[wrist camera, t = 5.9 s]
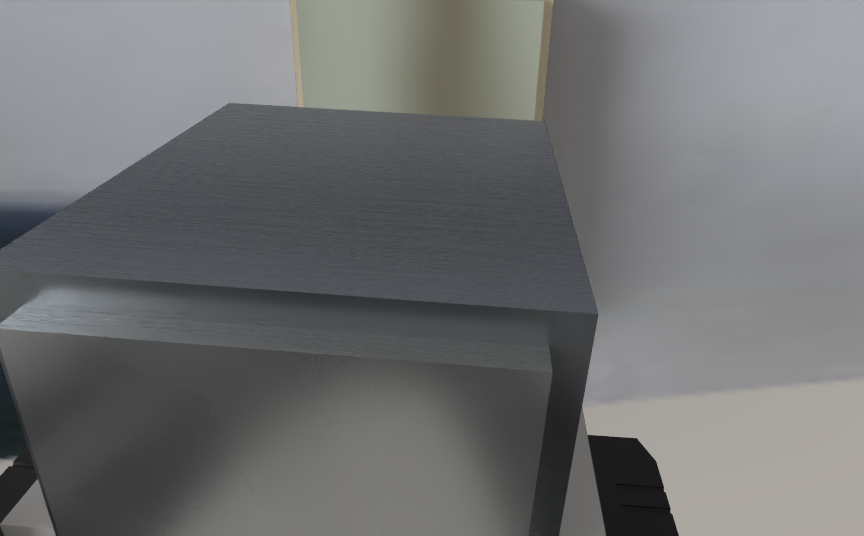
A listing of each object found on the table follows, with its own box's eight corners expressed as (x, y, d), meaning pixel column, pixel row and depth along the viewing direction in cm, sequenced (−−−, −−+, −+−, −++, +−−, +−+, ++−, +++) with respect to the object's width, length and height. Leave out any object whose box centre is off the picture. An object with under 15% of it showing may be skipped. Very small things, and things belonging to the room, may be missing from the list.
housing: (229, 103, 13) (-60, 287, 6) (544, 121, 12) (605, 337, 6) (268, 489, 17) (128, 834, 11) (499, 509, 17) (504, 880, 10)
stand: (333, 301, 29) (313, 348, 26) (313, -24, 23) (284, -17, 20) (517, 311, 28) (521, 360, 25) (546, -19, 22) (555, -10, 19)
